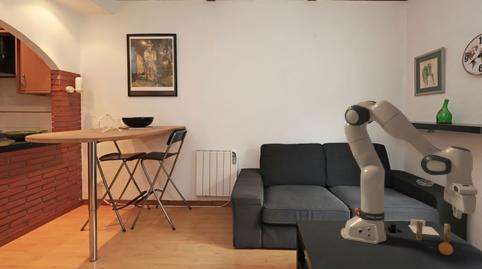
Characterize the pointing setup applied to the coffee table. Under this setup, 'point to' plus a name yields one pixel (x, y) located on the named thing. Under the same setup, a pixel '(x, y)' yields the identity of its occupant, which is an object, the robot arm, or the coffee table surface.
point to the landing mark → (424, 230)
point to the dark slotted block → (391, 227)
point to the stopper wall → (414, 222)
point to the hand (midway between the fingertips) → (457, 217)
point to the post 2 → (447, 233)
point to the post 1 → (419, 231)
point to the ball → (445, 248)
